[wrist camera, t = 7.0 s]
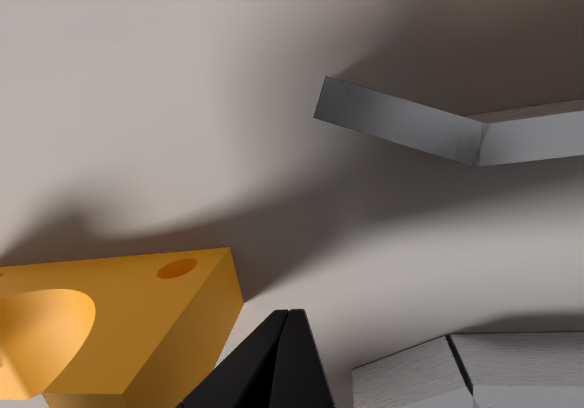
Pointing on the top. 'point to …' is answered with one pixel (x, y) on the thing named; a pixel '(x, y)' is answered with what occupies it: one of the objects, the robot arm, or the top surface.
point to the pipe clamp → (116, 328)
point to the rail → (468, 347)
